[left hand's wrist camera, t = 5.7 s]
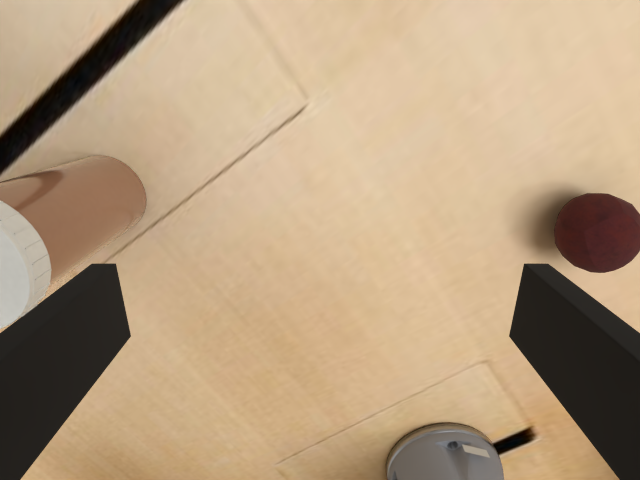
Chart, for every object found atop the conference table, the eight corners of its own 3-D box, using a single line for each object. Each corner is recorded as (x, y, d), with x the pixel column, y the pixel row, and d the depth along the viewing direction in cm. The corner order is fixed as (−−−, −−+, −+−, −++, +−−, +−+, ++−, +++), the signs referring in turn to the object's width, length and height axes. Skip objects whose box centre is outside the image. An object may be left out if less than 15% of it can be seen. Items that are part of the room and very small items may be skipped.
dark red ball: (555, 265, 43) (598, 297, 36) (527, 209, 41) (568, 232, 34) (621, 230, 41) (678, 257, 35) (596, 170, 39) (652, 186, 33)
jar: (160, 188, 40) (49, 256, 23) (123, 245, 42) (-3, 344, 26) (88, 138, 38) (-87, 174, 22) (53, 201, 40) (-129, 276, 24)
